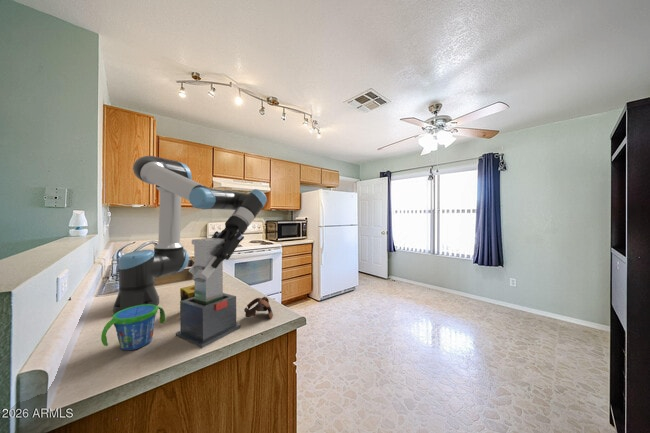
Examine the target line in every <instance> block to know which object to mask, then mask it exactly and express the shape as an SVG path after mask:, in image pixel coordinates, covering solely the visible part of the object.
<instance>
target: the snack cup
mask: <svg viewBox="0 0 650 433" xmlns="http://www.w3.org/2000/svg"><path fill="white" fill-rule="evenodd" d="M158 310H159V323H160V324H164V323H165V322H166V313H165V310H164V309H163V307H161V306H158V305H157V306H156V305H152V304H146V305H138V306H133V307H129V308H126V309H123V310H121V311H119V312H117V313H114V314H113V315H112V318H111V319H110V320H109V321H108V322H107V323H105V325H104V327H103V329H102V331H101V335H100V336H101V337H100V340H101V343H102V345H103V346H105V347H108V346H109V343H108V338H107V332H108V331H109V329H111V327H112V326H114V328H115V331H116V336H117V341H118V345H119V347H120V349H121V351H132V350H134V351H135V350H137V349H140V348H143V347H145V346H147V344H150V343H151V342H152V339H153V336H154V330H155V323H156V322H155V321H156V317H157V316H156V315H157V313H158Z"/></svg>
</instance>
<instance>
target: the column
mask: <svg viewBox="0 0 650 433" xmlns="http://www.w3.org/2000/svg"><path fill="white" fill-rule="evenodd" d="M222 243H225V239H221V238H212V237H208V238H197V239H195V238H194V239H191V245H193V252H194V256H193V258H194V262H193V265H194V272H195V276H194V278H193V281H194V285H195V291H194V293H195V298H194V303H197V304H200V305H203V306H206V305H208V304H211V303H214V302H217V301H219V300H222V299H223V293H224V292H223V290H224V289H223V286H224V285H223V280H224V279H223V270H224V268H223V261H221V263H220V264H219V265H218V267H217V268H216V269H215V270H214V271H213V273H212V274H211V275H210V277H209V278H206V277H205V276H203V275H202V274H201V273H202V271H203V270H204V269H205V268H206V266H207V265H208V264H209V262H210V261H211V260H212V259H213V257H214V256H216V255H215V254H218V252H219V251H220V249H221V248H222ZM216 257H217V256H216Z"/></svg>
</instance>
